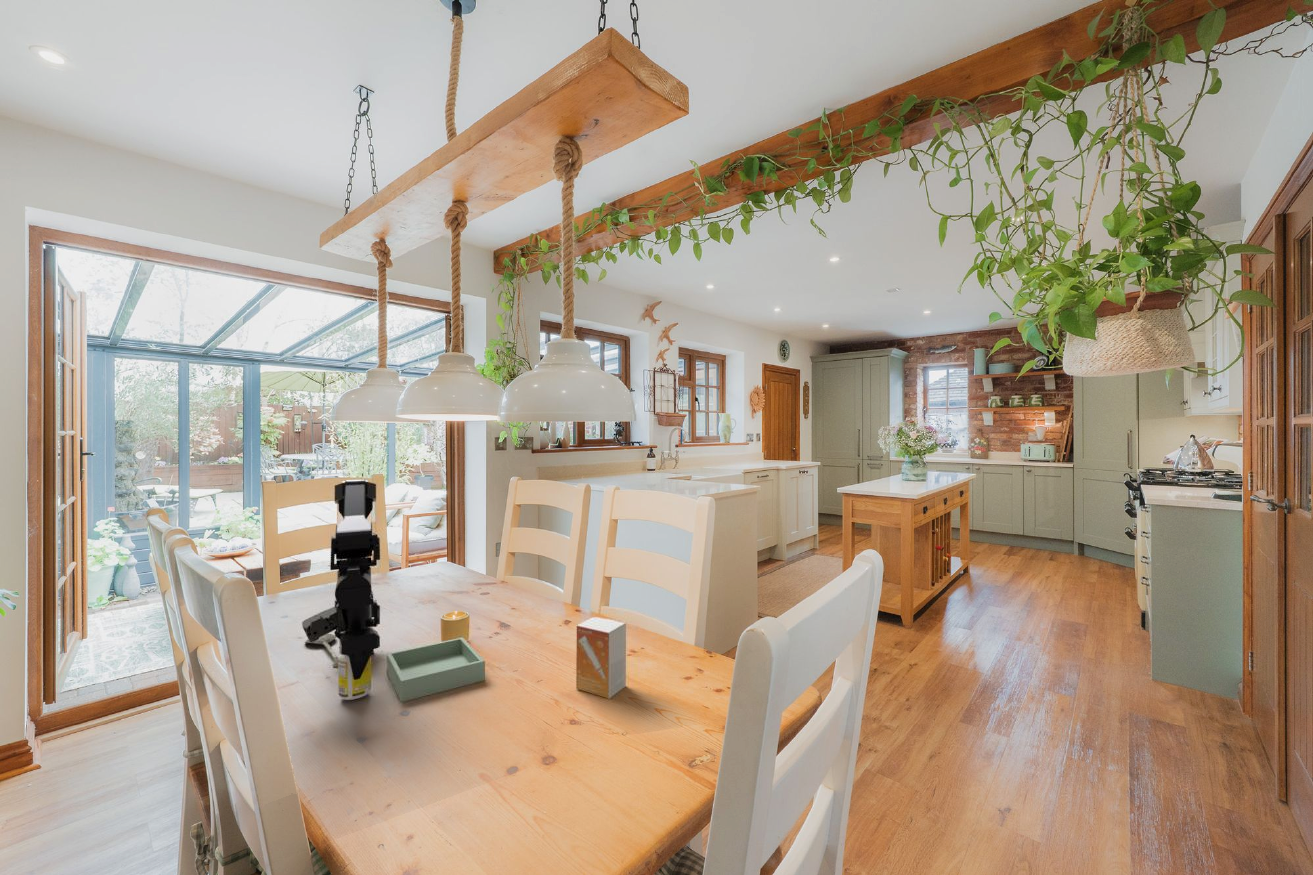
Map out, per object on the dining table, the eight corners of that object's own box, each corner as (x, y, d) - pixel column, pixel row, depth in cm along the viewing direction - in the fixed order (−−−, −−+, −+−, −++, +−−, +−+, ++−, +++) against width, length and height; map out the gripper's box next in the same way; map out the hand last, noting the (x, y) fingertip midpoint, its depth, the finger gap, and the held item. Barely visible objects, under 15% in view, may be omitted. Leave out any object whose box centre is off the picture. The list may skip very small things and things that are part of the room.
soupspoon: (333, 639, 139) (303, 647, 134) (332, 626, 139) (302, 633, 134) (354, 664, 122) (320, 674, 118) (353, 649, 122) (319, 658, 118)
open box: (386, 671, 117) (386, 653, 117) (462, 654, 127) (462, 637, 127) (401, 701, 104) (401, 681, 104) (484, 680, 114) (484, 660, 113)
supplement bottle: (376, 686, 109) (375, 635, 109) (363, 700, 104) (363, 646, 103) (346, 688, 109) (346, 636, 108) (332, 701, 103) (332, 647, 103)
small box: (575, 689, 109) (575, 624, 109) (594, 677, 115) (594, 615, 115) (609, 699, 105) (609, 632, 105) (626, 686, 111) (626, 622, 111)
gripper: (302, 588, 109) (303, 666, 109) (307, 614, 94) (308, 705, 94) (365, 579, 115) (366, 653, 115) (380, 602, 100) (380, 687, 100)
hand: (355, 673), depth 106 cm, fingers closed on supplement bottle, 5 cm apart
